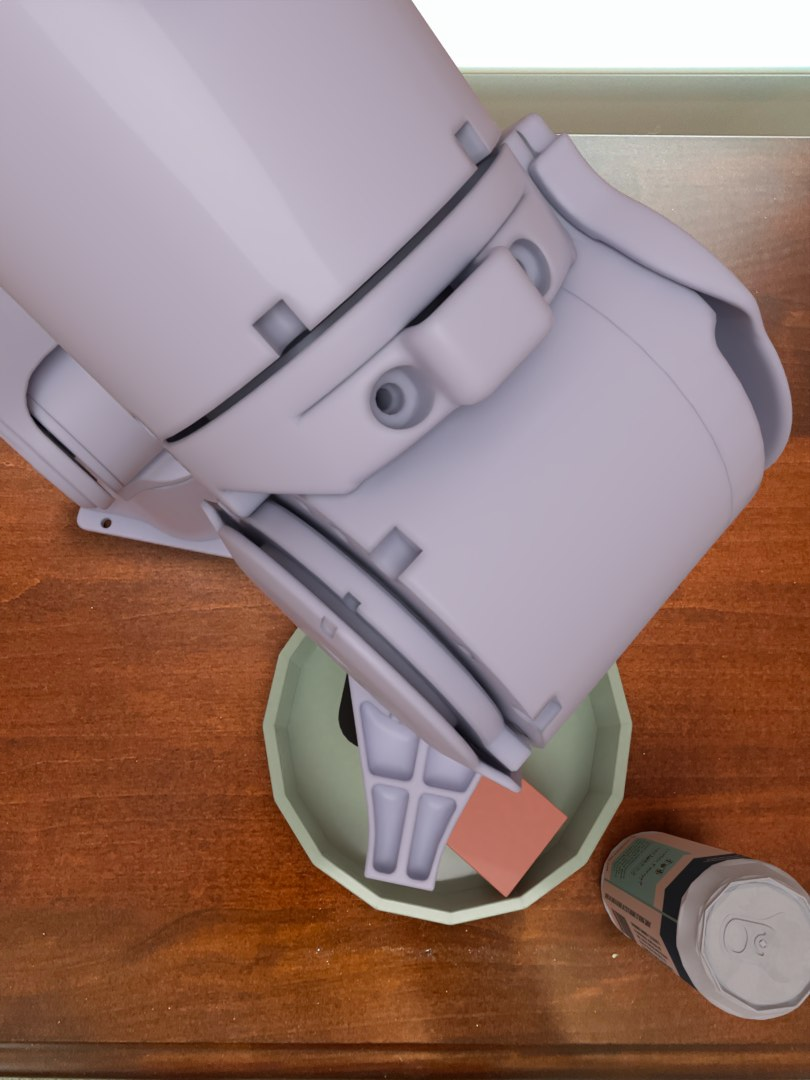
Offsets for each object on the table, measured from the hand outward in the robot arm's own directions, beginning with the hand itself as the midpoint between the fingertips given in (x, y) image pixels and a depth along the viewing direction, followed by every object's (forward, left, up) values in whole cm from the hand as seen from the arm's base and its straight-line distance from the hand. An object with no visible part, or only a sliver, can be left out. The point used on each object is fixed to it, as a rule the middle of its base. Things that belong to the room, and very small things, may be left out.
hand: (433, 664), depth 34 cm
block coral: (+4, -6, -5) cm, 9 cm away
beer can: (+12, -7, -6) cm, 15 cm away
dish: (+1, -2, -6) cm, 7 cm away
